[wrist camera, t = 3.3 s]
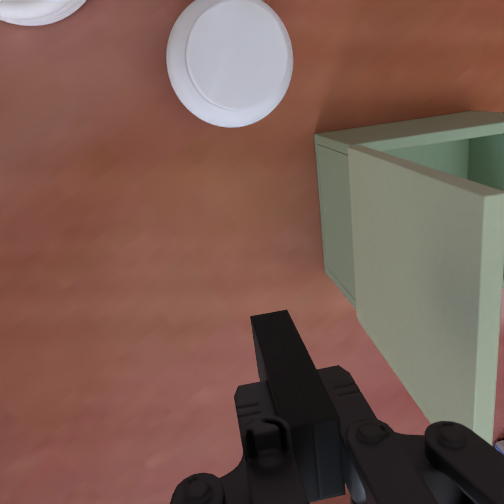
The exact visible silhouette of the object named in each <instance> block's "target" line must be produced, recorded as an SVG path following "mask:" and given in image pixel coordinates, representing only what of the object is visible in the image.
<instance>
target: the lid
mask: <svg viewBox="0 0 504 504" xmlns="http://www.w3.org/2000/svg"><path fill="white" fill-rule="evenodd" d="M348 163H349V181H350V200H351V218H352V236H353V255H354V273H355V292H356V310H357V320H358V321H359V322H360V324H361V325H362V327H363V328H364V330H365V331H366V332H367V334H368V335H369V337H370V338H371V340H372V341H373V342H374V344H375V345H376V347H377V348H378V349H379V351H380V352H381V354H382V355H383V357H384V358H385V359H386V361H387V362H388V364H389V365H390V367H391V368H392V369H393V371H394V372H395V374H396V375H397V376H398V378H399V379H400V381H401V382H402V384H403V385H404V386H405V388H406V389H407V391H408V392H409V394H410V395H411V396H412V398H413V399H414V401H415V402H416V404H417V405H418V406H419V408H420V409H421V411H422V412H423V413H424V415H425V416H426V418H427V419H428V421H429V422H430V423H431V424H432V423H435V422H439V421H453V422H456V423H460V424H462V425H464V426H466V427H468V428H469V429H471V430H472V431H473V432H475V433H476V434H477V435H479V436H480V437H481V438H482V439H484V440H485V441H486V442H488V443H489V444H490V445H492V440H493V425H494V409H495V394H496V378H497V363H498V347H499V332H500V316H501V301H502V285H503V270H504V191H502V190H498V189H495V188H492V187H489V186H486V185H483V184H480V183H477V182H474V181H471V180H467V179H464V178H461V177H458V176H455V175H452V174H449V173H446V172H443V171H440V170H436V169H433V168H430V167H427V166H424V165H421V164H418V163H415V162H412V161H409V160H405V159H402V158H399V157H396V156H393V155H390V154H387V153H384V152H381V151H377V150H374V149H371V148H368V147H365V146H362V145H355V146H349V147H348Z"/></svg>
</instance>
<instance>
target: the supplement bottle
mask: <svg viewBox="0 0 504 504" xmlns="http://www.w3.org/2000/svg"><path fill="white" fill-rule="evenodd" d="M166 61H167V69H168V75H169V79H170V82H171V85H172V87H173V89H174V91H175V93H176V95H177V97H178V98H179V99H180V101H181V102H182V103H183V105H184V106H185V107H186V108H187V109H188V110H189V111H190V112H191V113H193V114H194V115H195V116H197V117H198V118H200V119H201V120H203V121H205V122H208V123H210V124H213V125H216V126H221V127H242V126H246V125H250V124H252V123H255V122H257V121H259V120H261V119H262V118H264V117H265V116H267V115H268V114H269V113H270V112H272V111H273V110H274V109H275V108H276V106H277V105H278V104H279V103H280V101H281V100H282V98H283V97H284V95H285V93H286V91H287V89H288V87H289V84H290V81H291V77H292V71H293V52H292V45H291V41H290V38H289V35H288V32H287V30H286V28H285V26H284V24H283V22H282V21H281V19H280V18H279V16H278V15H277V14H276V13H275V11H274V10H273V9H272V8H270V7H269V6H268V5H267V4H266V3H265V2H263V1H262V0H195V1H194V2H192V3H191V4H190V5H189V6H188V7H187V8H186V9H185V10H184V11H183V12H182V13H181V15H180V16H179V17H178V19H177V20H176V22H175V24H174V26H173V28H172V30H171V33H170V36H169V40H168V44H167V54H166Z"/></svg>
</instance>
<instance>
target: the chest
mask: <svg viewBox="0 0 504 504" xmlns="http://www.w3.org/2000/svg"><path fill="white" fill-rule="evenodd" d="M314 139H315V152H316V165H317V177H318V190H319V203H320V216H321V229H322V242H323V254H324V267H325V272H326V273H327V275H328V276H329V277H330V278H331V280H332V281H333V282H334V283H335V284H336V286H337V287H338V288H339V289H340V291H341V292H342V293H343V294H344V295H345V297H346V298H347V299H348V300H349V302H350V303H351V304H352V305H353V307H354V308H355V309H356V292H355V273H354V255H353V236H352V218H351V200H350V181H349V163H348V147H349V146H355V145H362V146H365V147H368V148H371V149H374V150H377V151H381V152H384V153H387V154H390V155H393V156H396V157H399V158H402V159H405V160H409V161H412V162H415V163H418V164H421V165H424V166H427V167H430V168H433V169H436V170H440V171H443V172H446V173H449V174H452V175H455V176H458V177H461V178H464V179H467V180H471V181H474V182H477V183H480V184H483V185H486V186H489V187H492V188H495V189H498V190H502V191H504V112H485V111H467V112H460V113H454V114H447V115H440V116H433V117H426V118H419V119H413V120H406V121H399V122H392V123H385V124H378V125H371V126H365V127H358V128H351V129H344V130H337V131H330V132H324V133H317V134H314ZM502 288H504V270H503V285H502Z"/></svg>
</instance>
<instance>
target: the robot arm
mask: <svg viewBox="0 0 504 504" xmlns="http://www.w3.org/2000/svg"><path fill="white" fill-rule="evenodd" d="M250 318H251V325H252V332H253V339H254V346H255V353H256V360H257V367H258V374H259V378H260V382H256V383H251V384H246V385H241V386H238V388H237V391H236V393H235V395H234V399H235V405H236V411H237V417H238V423H239V429H240V435H241V441H242V447H243V456H242V460H241V461H240V463H239V465H238V466H237V467H236V468H235V469H234V470H233V471H231V472H230V473H228V474H227V475H225V476H223V477H221V478H218V477H216V476H215V475H213V474H208V473H199V474H193V475H191V476H189V477H187V478H185V479H184V480H183V481H182V482H181V483H180V484H179V485H178V486H177V487H176V489H175V491H174V493H173V495H172V499H171V502H170V504H309V502H314V501H318V500H323V499H327V498H332V497H336V496H341V495H346V494H345V483H346V486H347V488H348V490H349V493H350V500H351V504H504V455H503V454H502V453H501V452H499V451H498V450H497V449H495V448H494V447H493V446H492V445H490V444H489V443H488V442H486V441H485V440H484V439H482V438H481V437H480V436H479V435H477V434H476V433H475V432H473V431H472V430H471V429H469V428H468V427H466V426H464V425H462V424H460V423H456V422H453V421H439V422H435V423H432V424H431V425H430V426H428V427H427V429H426V431H425V435H406V434H400V433H396V432H394V431H393V430H392V429H391V428H390V427H389V426H388V425H387V424H386V423H384V422H382V421H380V420H378V419H377V418H376V416H375V414H374V413H373V411H372V409H371V408H370V406H369V404H368V403H367V401H366V399H365V398H364V396H363V394H362V393H361V392H360V390H359V388H358V386H357V385H356V384H355V381H354V380H353V378H352V376H351V375H350V373H349V372H348V371H346V370H345V369H343V368H342V367H340V366H339V365H338V366H333V367H328V368H323V369H317V370H316V368H315V366H314V364H313V361H312V359H311V357H310V355H309V353H308V351H307V349H306V347H305V345H304V343H303V341H302V339H301V337H300V335H299V333H298V331H297V329H296V327H295V325H294V323H293V321H292V319H291V317H290V315H289V313H288V311H287V310H283V311H277V312H272V313H266V314H260V315H255V316H250Z"/></svg>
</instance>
